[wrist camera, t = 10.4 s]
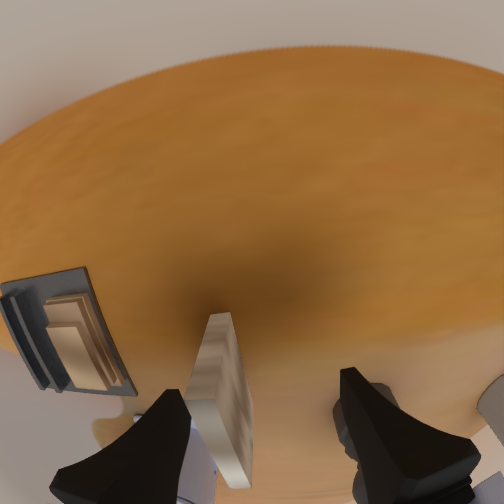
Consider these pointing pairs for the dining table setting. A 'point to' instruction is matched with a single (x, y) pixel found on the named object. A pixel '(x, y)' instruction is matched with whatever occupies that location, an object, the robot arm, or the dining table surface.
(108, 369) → the offcut stack
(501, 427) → the bottle
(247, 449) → the beige flat block
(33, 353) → the rack
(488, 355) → the dining table surface
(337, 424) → the candle holder
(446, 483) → the robot arm
